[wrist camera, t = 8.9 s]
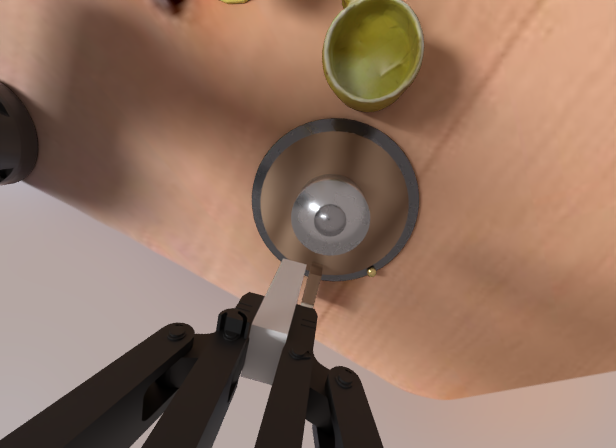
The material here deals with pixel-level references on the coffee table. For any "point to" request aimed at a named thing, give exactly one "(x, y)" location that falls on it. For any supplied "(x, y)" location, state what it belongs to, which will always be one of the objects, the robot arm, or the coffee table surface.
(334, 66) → the mug
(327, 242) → the cover
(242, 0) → the candle
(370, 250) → the platter
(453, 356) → the coffee table surface
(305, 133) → the susan base
